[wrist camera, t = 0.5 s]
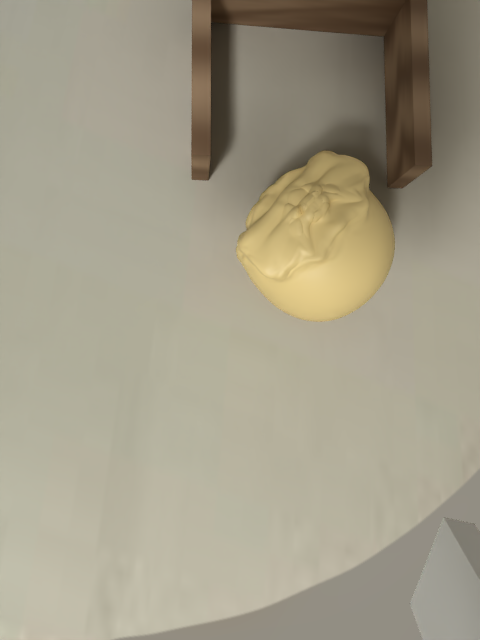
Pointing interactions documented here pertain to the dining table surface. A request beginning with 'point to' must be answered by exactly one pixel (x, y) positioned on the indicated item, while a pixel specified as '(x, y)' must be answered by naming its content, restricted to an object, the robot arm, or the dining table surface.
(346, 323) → the dining table surface
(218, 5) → the bay
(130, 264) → the dining table surface
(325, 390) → the dining table surface
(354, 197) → the sculpture
